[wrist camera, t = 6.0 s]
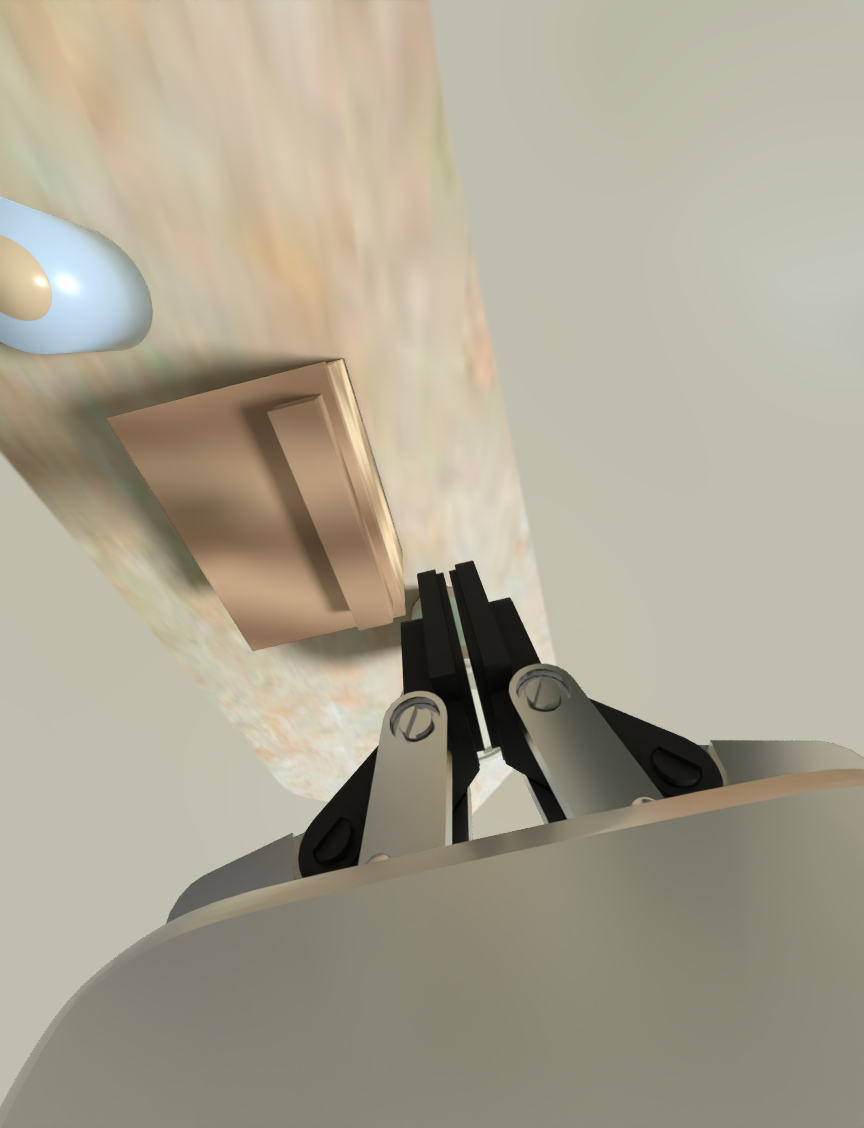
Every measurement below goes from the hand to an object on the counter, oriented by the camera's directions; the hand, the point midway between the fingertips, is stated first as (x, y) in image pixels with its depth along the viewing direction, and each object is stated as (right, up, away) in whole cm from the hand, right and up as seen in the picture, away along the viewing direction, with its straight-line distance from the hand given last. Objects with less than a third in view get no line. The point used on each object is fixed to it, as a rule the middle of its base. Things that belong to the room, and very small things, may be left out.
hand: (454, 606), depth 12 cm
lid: (-9, +3, +10) cm, 14 cm away
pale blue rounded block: (-19, +16, +10) cm, 27 cm away
